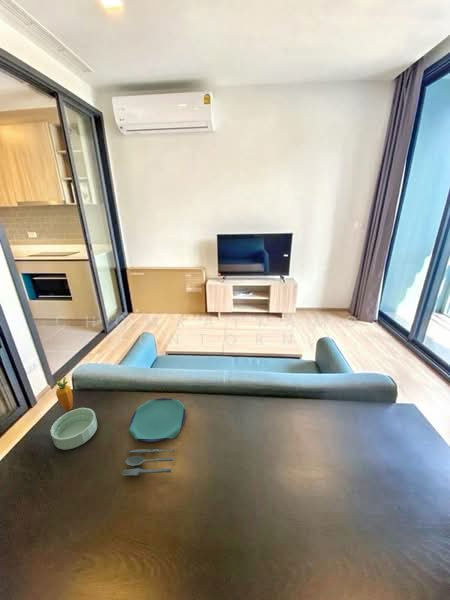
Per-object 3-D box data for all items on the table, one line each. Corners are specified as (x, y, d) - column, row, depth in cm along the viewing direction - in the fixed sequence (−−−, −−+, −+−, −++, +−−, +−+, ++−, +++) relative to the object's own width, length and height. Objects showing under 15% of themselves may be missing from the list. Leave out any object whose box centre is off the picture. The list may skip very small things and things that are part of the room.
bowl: (57, 458, 78) (53, 447, 76) (51, 431, 88) (48, 420, 86) (102, 435, 86) (99, 424, 84) (92, 412, 95) (89, 402, 94)
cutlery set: (189, 401, 101) (188, 396, 100) (177, 476, 73) (177, 470, 72) (139, 402, 100) (139, 397, 99) (109, 478, 72) (107, 472, 71)
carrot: (73, 404, 99) (64, 373, 94) (79, 410, 97) (70, 378, 91) (59, 412, 96) (49, 380, 90) (65, 418, 93) (55, 386, 88)
